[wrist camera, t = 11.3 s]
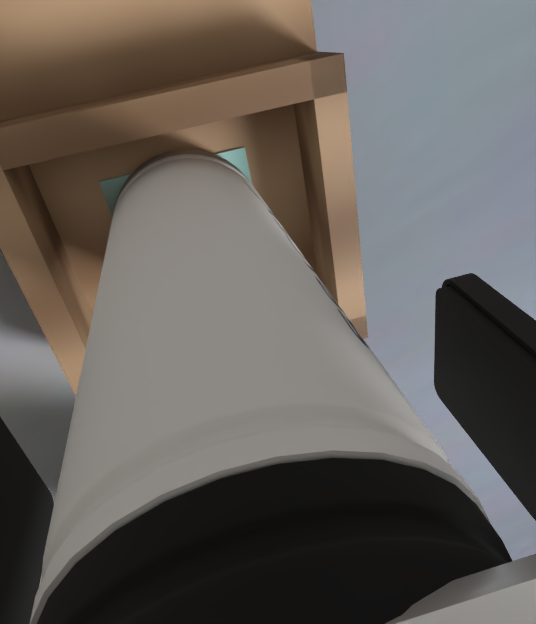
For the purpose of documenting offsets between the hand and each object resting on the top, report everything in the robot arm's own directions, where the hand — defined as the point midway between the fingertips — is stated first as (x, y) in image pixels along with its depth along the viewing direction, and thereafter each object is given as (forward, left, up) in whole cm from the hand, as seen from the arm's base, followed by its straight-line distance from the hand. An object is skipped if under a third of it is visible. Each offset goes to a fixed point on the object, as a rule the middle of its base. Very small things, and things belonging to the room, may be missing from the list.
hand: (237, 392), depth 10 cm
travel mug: (0, 0, -12) cm, 12 cm away
